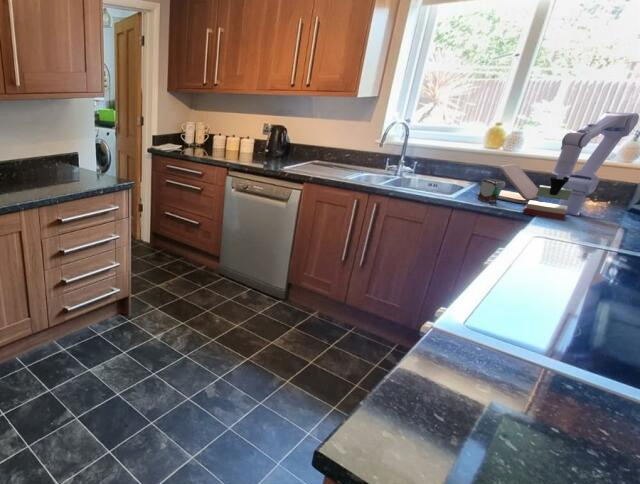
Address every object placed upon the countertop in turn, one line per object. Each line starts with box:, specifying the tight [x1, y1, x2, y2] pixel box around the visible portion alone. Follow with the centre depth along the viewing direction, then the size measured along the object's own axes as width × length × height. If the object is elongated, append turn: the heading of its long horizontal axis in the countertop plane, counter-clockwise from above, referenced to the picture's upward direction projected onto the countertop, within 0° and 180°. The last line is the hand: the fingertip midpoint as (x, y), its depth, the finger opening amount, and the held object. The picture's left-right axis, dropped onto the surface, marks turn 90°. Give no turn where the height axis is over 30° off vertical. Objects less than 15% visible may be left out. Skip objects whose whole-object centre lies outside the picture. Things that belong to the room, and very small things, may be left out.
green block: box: [536, 184, 572, 200], centre depth 181 cm, size 5×10×4 cm, turn 44°
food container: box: [476, 177, 506, 204], centre depth 203 cm, size 12×6×10 cm, turn 168°
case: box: [476, 163, 542, 204], centre depth 211 cm, size 20×21×16 cm
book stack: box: [522, 200, 567, 221], centre depth 184 cm, size 11×13×4 cm
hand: (553, 194), depth 181 cm, fingers closed on green block, 5 cm apart
